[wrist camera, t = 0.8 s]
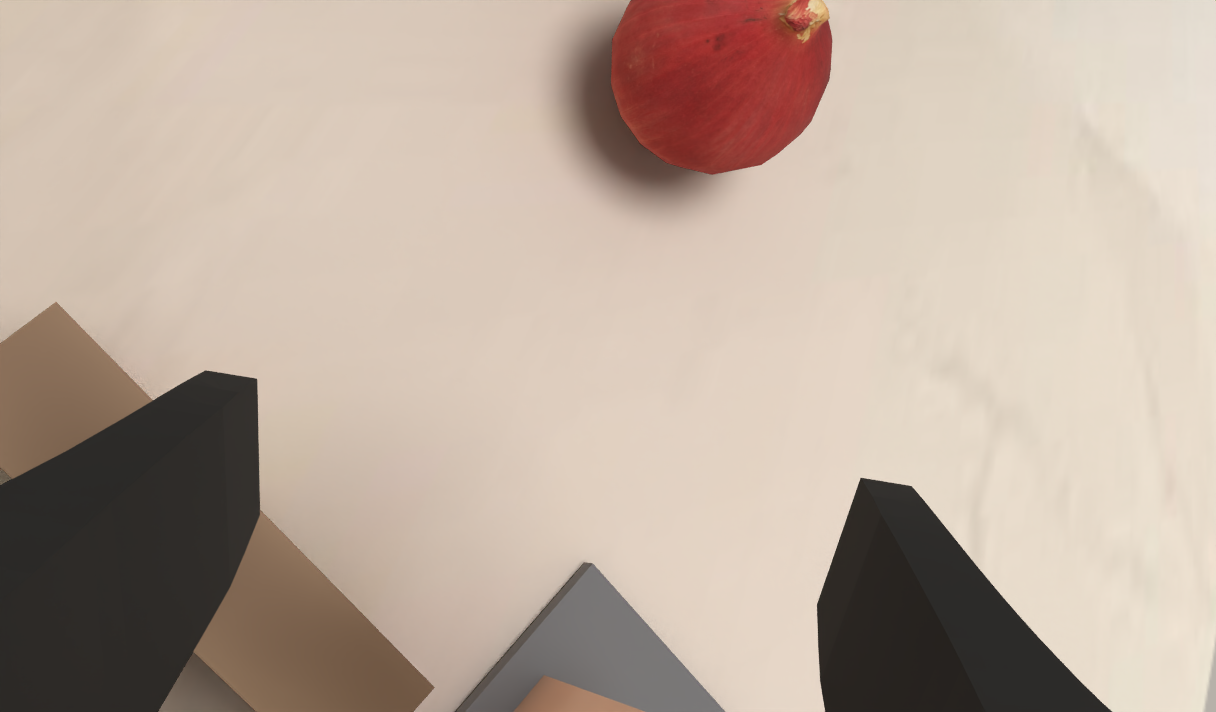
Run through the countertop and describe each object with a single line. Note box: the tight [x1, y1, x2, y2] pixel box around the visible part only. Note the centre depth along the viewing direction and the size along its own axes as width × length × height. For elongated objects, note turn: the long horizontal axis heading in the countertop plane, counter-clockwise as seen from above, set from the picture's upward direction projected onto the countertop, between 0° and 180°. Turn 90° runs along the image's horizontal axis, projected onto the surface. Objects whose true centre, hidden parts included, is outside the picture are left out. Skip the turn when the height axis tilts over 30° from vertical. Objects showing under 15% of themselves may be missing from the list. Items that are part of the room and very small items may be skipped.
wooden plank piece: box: [0, 302, 434, 712], centre depth 22 cm, size 2×10×6 cm, turn 46°
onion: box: [611, 0, 832, 175], centre depth 28 cm, size 6×6×8 cm
